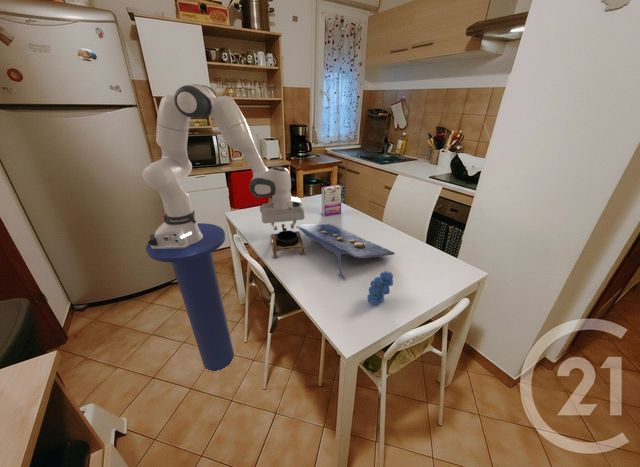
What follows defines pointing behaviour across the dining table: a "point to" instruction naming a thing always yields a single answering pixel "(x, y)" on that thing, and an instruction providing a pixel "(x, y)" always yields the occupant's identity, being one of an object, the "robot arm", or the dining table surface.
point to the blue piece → (342, 242)
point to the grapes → (380, 287)
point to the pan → (286, 238)
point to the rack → (279, 248)
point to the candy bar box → (331, 200)
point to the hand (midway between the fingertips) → (284, 228)
